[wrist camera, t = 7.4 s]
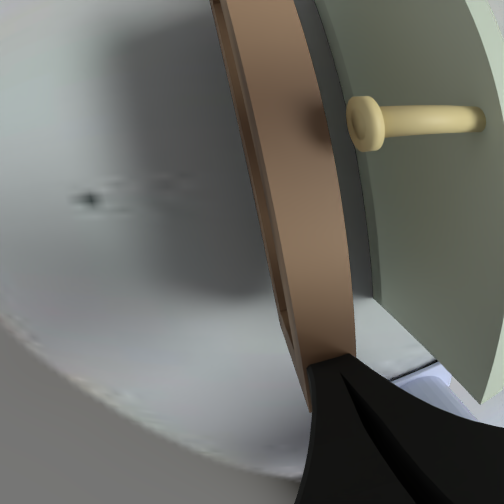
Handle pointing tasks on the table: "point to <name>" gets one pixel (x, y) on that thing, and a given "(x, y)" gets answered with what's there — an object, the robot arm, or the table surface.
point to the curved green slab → (430, 169)
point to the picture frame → (290, 176)
